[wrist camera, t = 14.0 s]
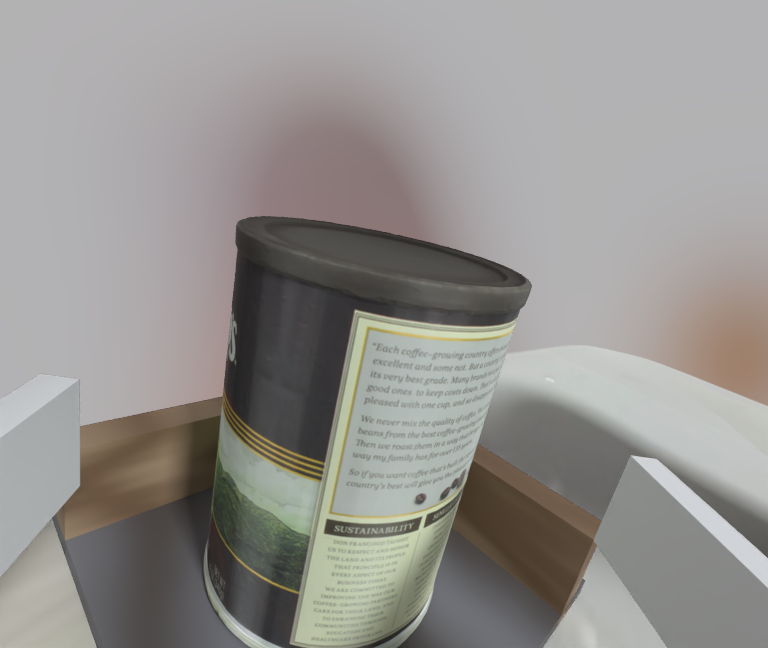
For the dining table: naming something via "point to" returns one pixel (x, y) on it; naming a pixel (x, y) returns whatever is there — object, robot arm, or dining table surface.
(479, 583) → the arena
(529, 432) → the dining table surface
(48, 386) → the robot arm
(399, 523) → the coffee can
